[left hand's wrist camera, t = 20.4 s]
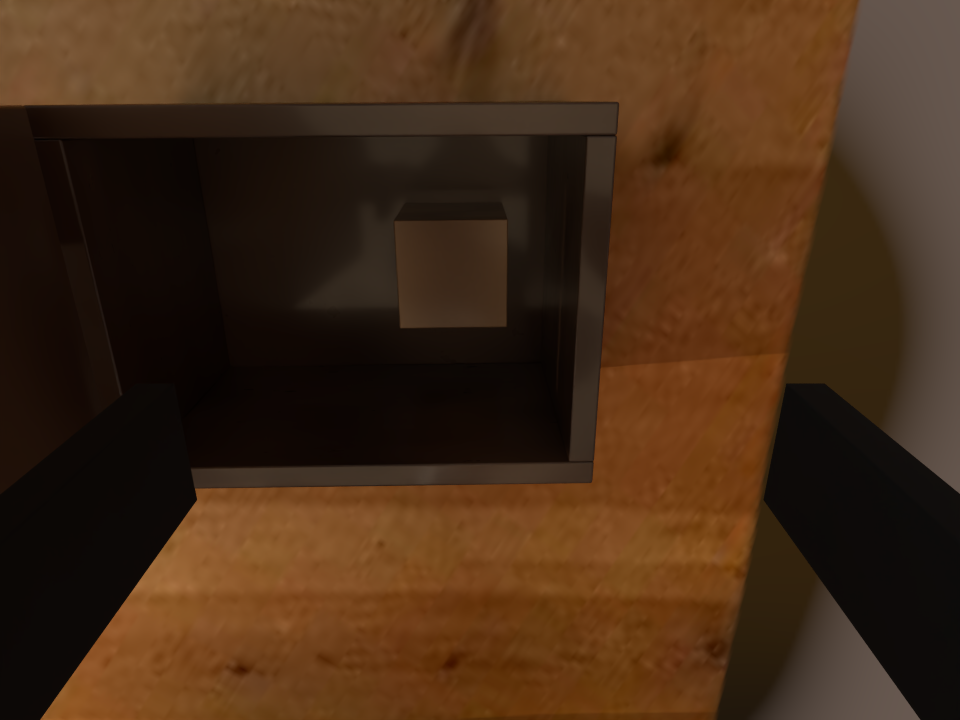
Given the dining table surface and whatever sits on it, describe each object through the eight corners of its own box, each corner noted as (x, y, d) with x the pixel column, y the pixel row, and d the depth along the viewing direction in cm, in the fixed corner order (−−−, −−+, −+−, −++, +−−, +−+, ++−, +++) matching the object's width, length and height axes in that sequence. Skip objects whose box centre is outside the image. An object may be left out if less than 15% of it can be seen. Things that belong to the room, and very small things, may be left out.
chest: (567, 101, 27) (619, 101, 18) (556, 371, 32) (592, 483, 23) (175, 103, 27) (20, 105, 18) (221, 375, 32) (119, 490, 22)
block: (502, 202, 28) (507, 219, 24) (501, 296, 30) (507, 327, 26) (404, 203, 28) (393, 220, 24) (409, 298, 30) (399, 328, 26)
